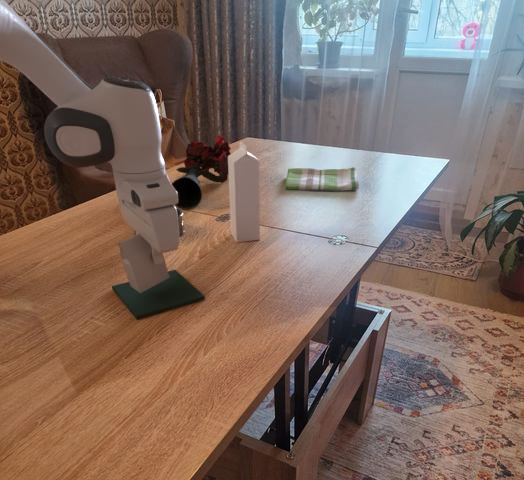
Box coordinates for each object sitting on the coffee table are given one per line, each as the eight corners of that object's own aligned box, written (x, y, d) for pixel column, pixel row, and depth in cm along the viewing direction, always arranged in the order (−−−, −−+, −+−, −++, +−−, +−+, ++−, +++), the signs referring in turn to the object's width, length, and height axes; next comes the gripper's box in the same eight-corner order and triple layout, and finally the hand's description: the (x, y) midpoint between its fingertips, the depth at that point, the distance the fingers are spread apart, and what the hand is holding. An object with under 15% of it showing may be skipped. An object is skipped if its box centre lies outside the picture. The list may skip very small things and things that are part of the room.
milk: (236, 243, 117) (232, 147, 105) (230, 233, 122) (226, 141, 109) (260, 239, 119) (259, 145, 106) (253, 231, 124) (252, 139, 111)
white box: (169, 277, 94) (156, 231, 88) (140, 293, 91) (124, 246, 85) (159, 271, 96) (145, 225, 90) (130, 286, 93) (114, 240, 87)
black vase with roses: (194, 235, 141) (206, 191, 169) (240, 194, 134) (244, 155, 161) (154, 195, 134) (172, 156, 161) (200, 150, 126) (211, 117, 154)
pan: (145, 246, 116) (142, 226, 113) (128, 230, 124) (124, 211, 121) (192, 235, 121) (190, 216, 118) (172, 221, 130) (170, 202, 127)
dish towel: (358, 192, 149) (360, 181, 147) (284, 190, 151) (285, 179, 149) (355, 177, 163) (356, 166, 161) (287, 175, 165) (288, 164, 163)
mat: (136, 319, 88) (136, 316, 88) (112, 289, 98) (111, 285, 98) (204, 299, 95) (204, 295, 94) (175, 272, 104) (175, 269, 104)
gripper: (104, 172, 89) (118, 242, 97) (145, 203, 75) (157, 282, 83) (137, 167, 92) (147, 236, 100) (182, 196, 78) (190, 273, 86)
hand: (152, 257), depth 92 cm, fingers closed on white box, 4 cm apart
